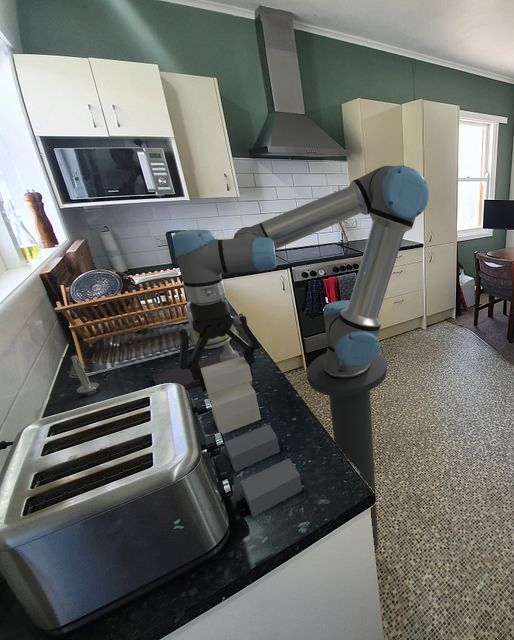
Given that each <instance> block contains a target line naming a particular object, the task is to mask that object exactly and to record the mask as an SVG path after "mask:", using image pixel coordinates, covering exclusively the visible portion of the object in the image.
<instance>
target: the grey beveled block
mask: <svg viewBox="0 0 514 640" xmlns="http://www.w3.org/2000/svg"><path fill="white" fill-rule="evenodd" d="M240 485H241V489H242V493H243V496H244V500H245V501H246V504H247V506H248V510H249V512H250V514H251V517H252V518H255V517H256V516H258V515H259V514H261V513H263V512H265V511H267V510H269V509H271V508H273V507H274V506H276V505H278V504H280V503H281V502H283V501H285V500H288V499H289V498H292V496H294V495H296V494H298V493H300V492H303V486H302V481H301V475H300V473H299V471H298V469H297V468H296V467H295V465H294V463H293V461H292V460H291V458H290V457H288V458H286V459H284V460H282V461H280V462H277V463H276V464H273V465H271V466H269V467H267V468H265V469H263V470H261V471H259V472H257V473H255V474H252V475H250V476H249V477H247V478H244V479H242V480H240Z"/></svg>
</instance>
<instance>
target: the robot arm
mask: <svg viewBox="0 0 514 640" xmlns="http://www.w3.org/2000/svg"><path fill="white" fill-rule="evenodd" d="M429 195H430V192H429V186H428V184H427V180H426V179H425V177H424V176H423V175H422V174H421V173H420V172H419V171H418V170H416V169H415V168H413V167H409V166H407V165H403V164H399V165H383V166H380V167H378V168H375V169H374V170H372V171H370V172H368V173H366V174H364V175H362V176H360V177H358V178H356V179H353V180H351V181H350V183H349V185H348V186H347V187H344V188H342V189H340V190H336V191H335V192H332V193H329V194H328V195H325V196H322V197H319V198H318V199H315V200H312V201H310V202H308V203H305V204H303V205H300V206H298V207H295V208H293V209H290V210H287V211H285V212H283V213H280V214H278V215H275V216H273V217H271V218H268V219H266V220H263V221H261V222H259V223H256V224H254V225H251V226H244V227H241V228H240V229H238V230H237V231H236V232H235V233H234V236H233V237H232V238H224V239H221V238H220V239H219V238H216V239H215V236H214V235H213V233H212V231H211V230H209V229H185V230H179V231H177V232H175V233H174V234H173V235H172V236H171V238H172V244H173V249H174V257H175V259H176V262H177V266H178V269H179V273H180V276H181V279H182V283H183V287H184V291H185V295H186V299H187V301H188V302H191V303H190V304H189V306H190V310H191V313H192V317H193V324H192V325H191V326H189V325H187V326H183V325H181V326H179V327H178V332H179V334H180V344H179V345H180V346H179V356H178V366H179V367H180V369H182V370H184V369H190V370H191V373H192V377H193V379H194V380H199V381H200V384H199V385H200V387H201V390H202V392H203V393H205V392H207V390H206V386H205V383H204V379H203V375H202V372H201V368H200V366H199V364H198V362H199V361H200V359H201V357H202V354H203V352H204V350H205V349H204V347H205V345H206V344H207V342H208V339H214V338H216V337H222V336H225V335H226V334H227V335H228V336H229V337H231V338H230V339H232V340H233V341H234V342H236V344H237V345H239V346H240V347H241V348H242V349H243V350H242V353H243V357H244V359H245V360H246V362H247V363H248V365H249V367H250V371H251V376H252V378H253V377H254V372H253V367H252V364H255V362H256V360H255V355H254V354H255V351H256V350H259V349H260V348H261V345H260V344H259V342H258V340H257V339H256V336H255V335H254V334H253V332H252V330H251V328H250V327H249V324H248V321H247V317H246V315H245V314H244V313H239V314H238V315H232V313H231V311H230V307H229V302H228V299H227V297H226V296H227V294H226V289H225V284H224V281H223V276H222V275H223V274H233V273H234V274H235V273H249V272H264V271H269V270H275V269H276V268H277V266H278V265H277V264H278V263H277V257H276V250H277V249H280V248H283V247H285V246H287V245H289V244H291V243H294V242H296V241H299V240H301V239H303V238H306V237H309V236H311V235H313V234H315V233H317V232H320V231H322V230H325V229H328V228H329V227H332V226H335V225H336V224H339V223H341V222H344V221H346V220H348V219H350V218H353V217H356V216H358V215H360V214H362V215H365V216H368V215H369V216H370V218H371V221H372V223H371V227H370V230H369V233H368V237H367V241H366V243H365V247H364V250H363V255H362V259H361V260H360V261H361V262H360V265H359V268H358V271H357V275H356V279H355V281H354V286H353V288H352V291H351V296H350V299H349V300H347V299H346V300H336V301H333V302H332V301H331V302H329V303H327V304H325V305H324V307H323V314H322V315H323V316H324V324H325V325H324V327H325V337H326V345H327V349H326V352H325V353H326V357H325V361H324V371H325V373H326V374H327V375H328V376H330V377H332V378H335V379H352V378H356V377H359V376H361V375H363V374H365V373H366V372H367V371H368V370H369V369H370V366H371V364H370V362H372V361H373V360H374V359H375V358H376V356H377V355H378V354H379V353H380V349H381V348H380V347H381V346H380V340H379V338H378V337H379V336H378V335H379V333H380V329H381V326H382V321H381V319H380V317H379V315H380V312H381V308H382V305H383V302H384V298H385V295H386V292H387V290H388V289H387V288H388V285H389V283H390V280H391V277H392V273H393V270H394V267H395V264H396V260H397V257H398V255H399V252H400V248H401V245H402V243H403V242H402V241H403V239H404V236H405V233H407V232H409V231H410V230H412V229H413V227H414V224H415V221H416V218H417V217H418V216H420V215H421V214H422V213H423V212H424V211H425V209H426V208H427V205H428V204H429V197H430V196H429ZM234 322H235V323H236V324H237V325H240V326H241V329H242V330H243V331H244V333H245V335H246V336H247V338H248V340H249V341H250V343H251V344H248V343H247V342H246V341H245V340H243V338H242V337H241V336H239V335H238V334H237V333H236V332H235V331H234V330H233V329H232V326H233V324H234ZM193 330H195V331H196V332H198V333H199V337H198V341H197V343H196V345H194V349H193V351H192V354H191V356H190V358H189V360H188V357H189V356H188V355H189V348H190V347H189V346H190V337H191V336H192V331H193Z"/></svg>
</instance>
